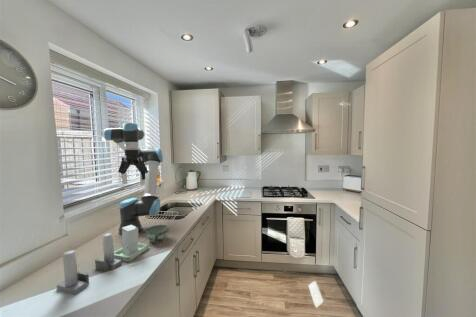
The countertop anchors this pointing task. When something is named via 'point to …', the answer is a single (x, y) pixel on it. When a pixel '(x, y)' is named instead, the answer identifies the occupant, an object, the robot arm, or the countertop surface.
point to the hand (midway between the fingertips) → (133, 184)
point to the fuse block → (79, 280)
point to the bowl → (157, 233)
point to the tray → (124, 257)
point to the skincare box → (129, 240)
